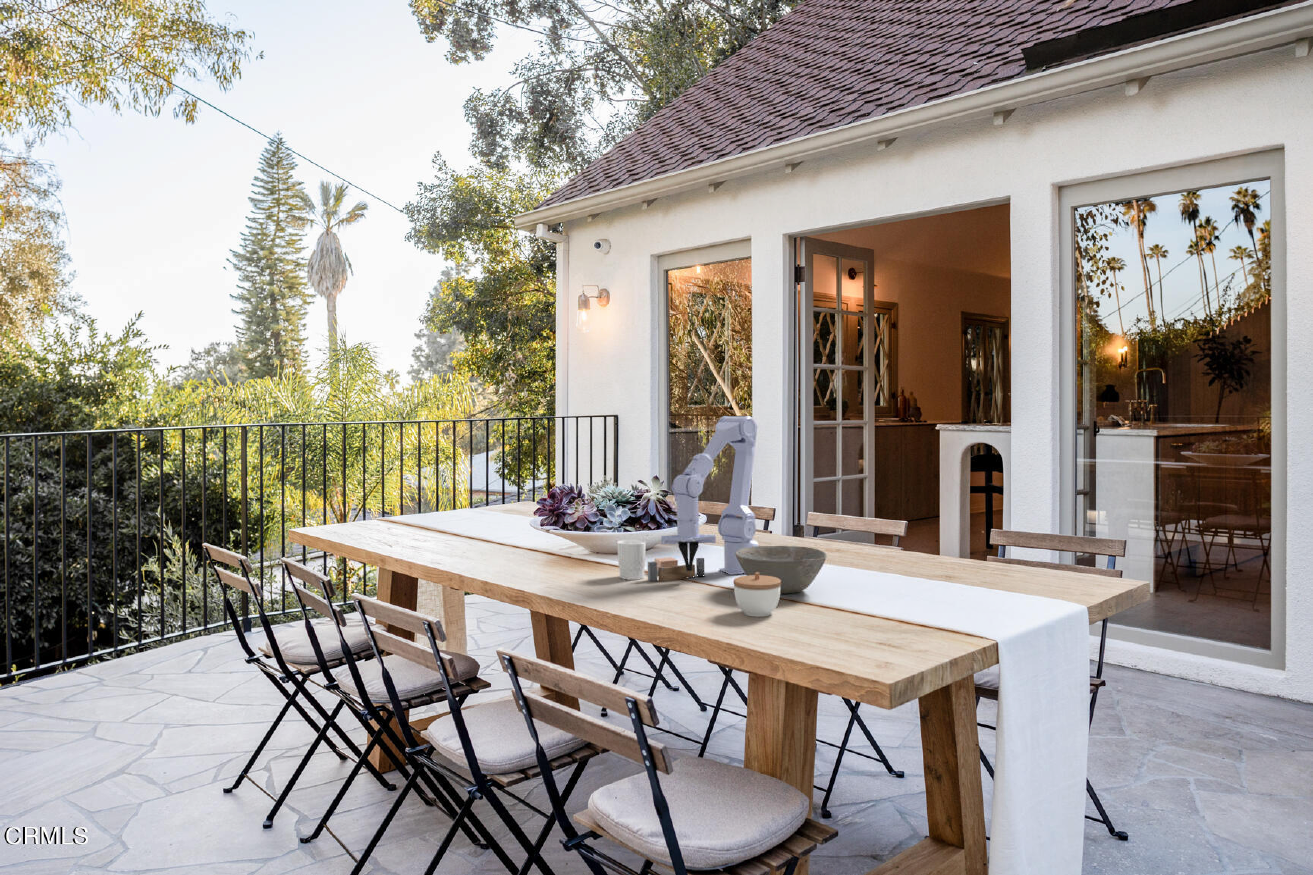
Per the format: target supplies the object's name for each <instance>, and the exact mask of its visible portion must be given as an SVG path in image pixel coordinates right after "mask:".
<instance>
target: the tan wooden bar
mask: <svg viewBox="0 0 1313 875" xmlns="http://www.w3.org/2000/svg"><path fill="white" fill-rule="evenodd" d="M658 570H659V575H658V582H666V581H667V582H669V581H676V580H683V578H687V577H693V576H695V577H696V564H692V571H686V565H685V564H683V565H678V566H671V567H659V568H658ZM687 579H688V578H687Z"/></svg>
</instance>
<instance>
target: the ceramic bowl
mask: <svg viewBox="0 0 1313 875" xmlns="http://www.w3.org/2000/svg"><path fill="white" fill-rule="evenodd" d="M735 555H736V557H737V559H738V562H739V563H740V565H741V567H742V569H743V570H744V572H745V573H744V574H745V576H749V575H755V573H756V572H758V573H759V575H764V576H772V577H776V578H779V579H780V580H781V585H780V595H782V594H795V593H801V592H802V591H805V590H806V589H808V587H810V586H811V584H812V583H813V582H814V580H815V579H816V577H817V576H818V574H819V572H820V571H821V570H822V568H823V566H824V564H825V561H826V559H827V553H826V552H825V551H822V550H820V549H818V548H814V547H808V546H800V545H799V546H795V545H794V546H792V545H791V546H789V545H758V546H757V547H750V548H743V549H740V550H737V551H736V552H735Z"/></svg>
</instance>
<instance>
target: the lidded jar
mask: <svg viewBox="0 0 1313 875" xmlns="http://www.w3.org/2000/svg"><path fill="white" fill-rule="evenodd" d="M780 585H781V580H780V579H779V578H776V577H772V576H764V575H759V573H758V572H756V573H755V575H749V576H747V575H741V576H738V577H735V578H734V579H733V588H734V591H733V592H734V597H735V602H736V605H737V607H738V608H739V609H740V610H741V611H742V612H743V614H744V616H749V617H753V618H755V617H756V618H759V617H761V618H762V617H768V616H771V615H772V612H774V610H776V608H777V606H778V604H779V602H780V597H781V594H780Z"/></svg>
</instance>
